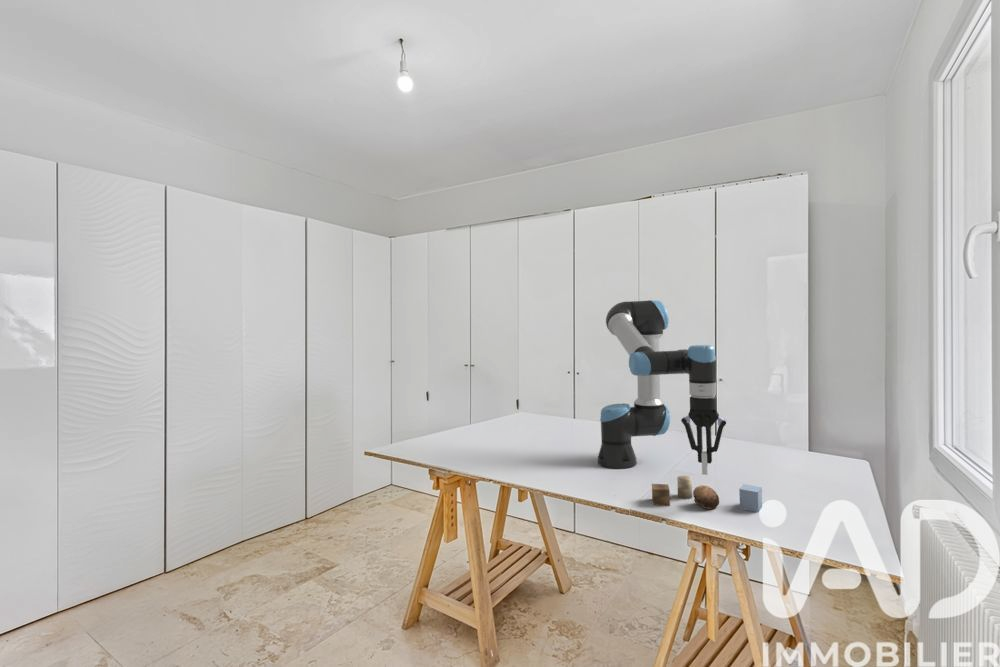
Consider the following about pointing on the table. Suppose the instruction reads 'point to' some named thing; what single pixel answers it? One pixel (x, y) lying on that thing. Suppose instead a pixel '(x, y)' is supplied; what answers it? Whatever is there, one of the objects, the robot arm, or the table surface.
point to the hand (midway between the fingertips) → (705, 473)
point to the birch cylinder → (684, 487)
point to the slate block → (750, 498)
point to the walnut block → (661, 494)
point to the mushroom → (706, 497)
